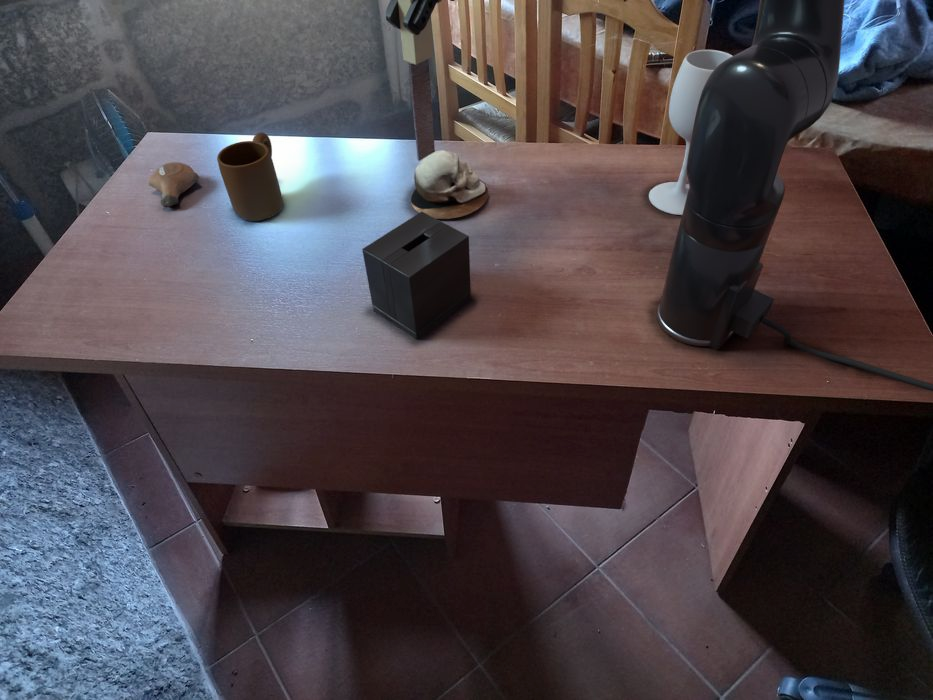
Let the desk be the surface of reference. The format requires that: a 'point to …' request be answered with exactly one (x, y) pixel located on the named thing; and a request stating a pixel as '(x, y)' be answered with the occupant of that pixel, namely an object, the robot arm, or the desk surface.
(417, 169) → the skull
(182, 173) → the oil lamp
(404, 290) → the knife block
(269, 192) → the mug
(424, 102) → the knife
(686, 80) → the wineglass
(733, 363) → the desk surface
